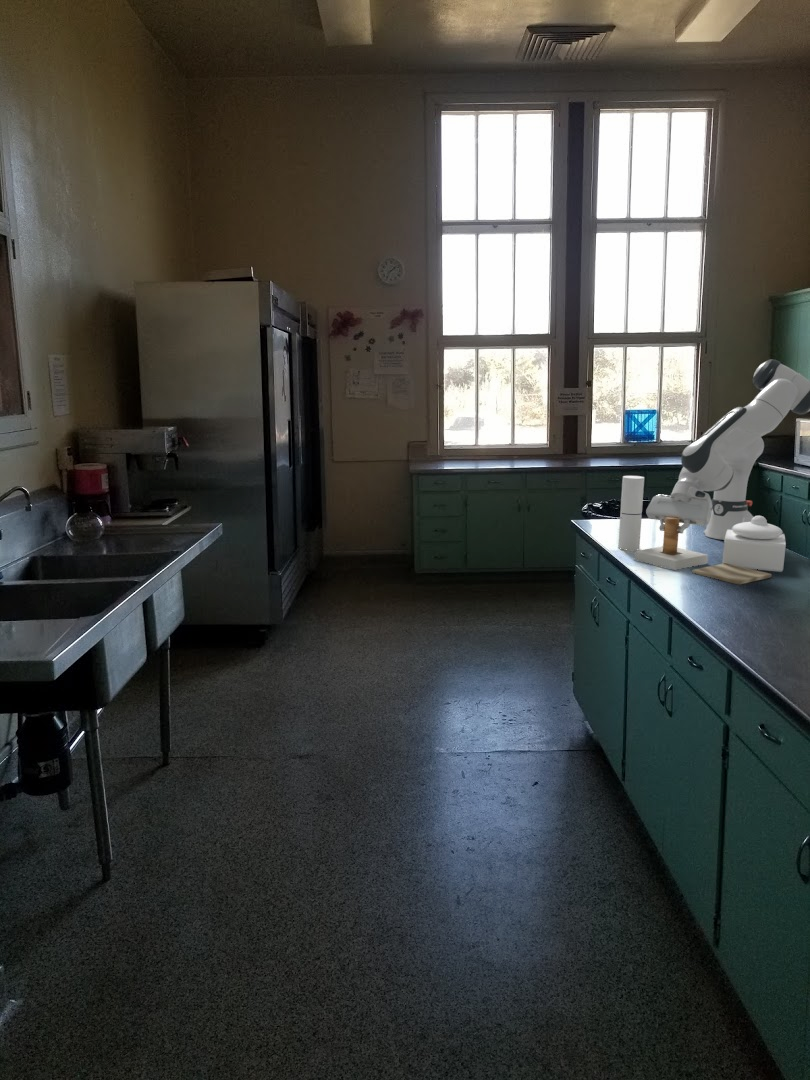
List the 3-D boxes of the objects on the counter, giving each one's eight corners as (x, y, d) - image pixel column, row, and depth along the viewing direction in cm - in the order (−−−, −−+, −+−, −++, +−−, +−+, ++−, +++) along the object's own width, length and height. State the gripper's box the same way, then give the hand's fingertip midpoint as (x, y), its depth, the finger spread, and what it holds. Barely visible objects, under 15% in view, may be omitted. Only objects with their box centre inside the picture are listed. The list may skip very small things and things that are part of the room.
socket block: (666, 554, 267) (667, 545, 267) (707, 563, 254) (708, 554, 254) (634, 560, 259) (635, 551, 258) (674, 570, 246) (675, 560, 245)
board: (724, 566, 251) (725, 563, 251) (771, 577, 238) (771, 574, 238) (692, 572, 243) (692, 569, 243) (738, 584, 230) (739, 581, 229)
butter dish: (721, 566, 252) (726, 517, 248) (724, 555, 268) (728, 508, 264) (782, 572, 245) (788, 522, 241) (781, 560, 261) (786, 512, 257)
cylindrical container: (628, 551, 271) (633, 479, 266) (613, 547, 277) (618, 476, 272) (643, 549, 274) (648, 477, 269) (629, 545, 281) (633, 475, 275)
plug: (668, 552, 259) (671, 516, 257) (679, 555, 256) (682, 518, 253) (659, 554, 257) (662, 517, 255) (670, 556, 253) (673, 520, 251)
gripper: (652, 488, 264) (637, 521, 259) (713, 494, 251) (699, 529, 246) (656, 499, 268) (642, 532, 263) (717, 506, 255) (703, 541, 250)
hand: (670, 531), depth 254 cm, fingers closed on plug, 4 cm apart
